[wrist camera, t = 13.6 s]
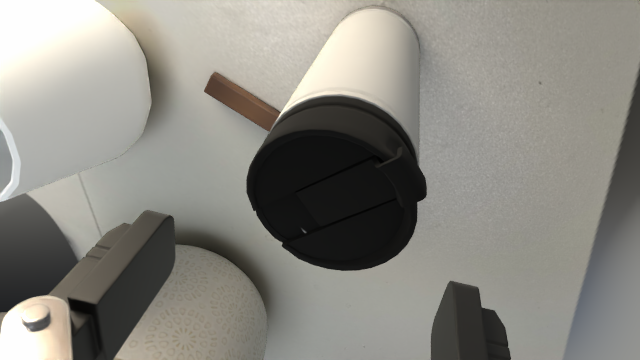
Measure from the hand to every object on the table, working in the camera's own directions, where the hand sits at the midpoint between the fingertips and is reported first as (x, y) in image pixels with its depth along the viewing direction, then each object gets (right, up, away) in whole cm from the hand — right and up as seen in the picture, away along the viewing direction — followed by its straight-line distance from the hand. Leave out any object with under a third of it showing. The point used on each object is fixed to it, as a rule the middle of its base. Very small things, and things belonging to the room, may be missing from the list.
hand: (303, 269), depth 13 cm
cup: (-17, +12, +24) cm, 32 cm away
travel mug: (+4, +12, +19) cm, 23 cm away
